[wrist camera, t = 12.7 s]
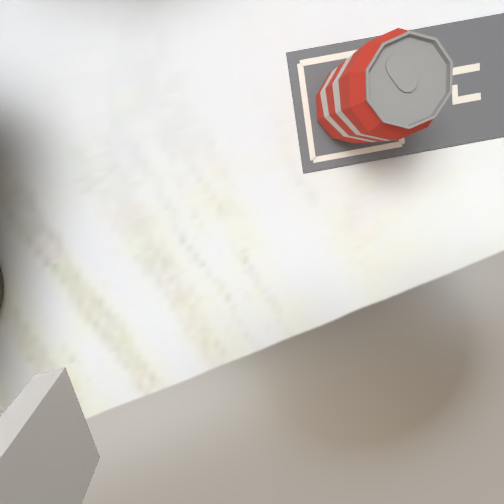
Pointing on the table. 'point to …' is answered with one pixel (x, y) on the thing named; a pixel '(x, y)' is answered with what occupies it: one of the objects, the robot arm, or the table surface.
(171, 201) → the table surface
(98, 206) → the table surface
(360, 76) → the beverage can
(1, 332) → the table surface
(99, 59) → the table surface
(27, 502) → the robot arm
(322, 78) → the charcoal board
